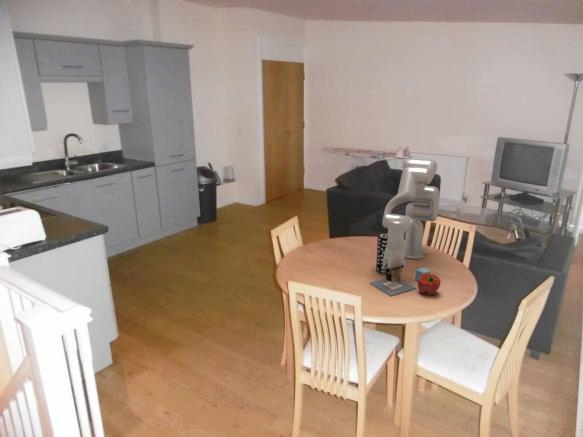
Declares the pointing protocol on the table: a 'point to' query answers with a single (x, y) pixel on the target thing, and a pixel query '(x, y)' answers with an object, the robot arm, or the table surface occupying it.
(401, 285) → the slate mat
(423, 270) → the teal block
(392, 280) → the walnut block
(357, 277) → the table surface
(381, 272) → the white-spotted black cylinder
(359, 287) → the table surface
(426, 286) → the vegetable
